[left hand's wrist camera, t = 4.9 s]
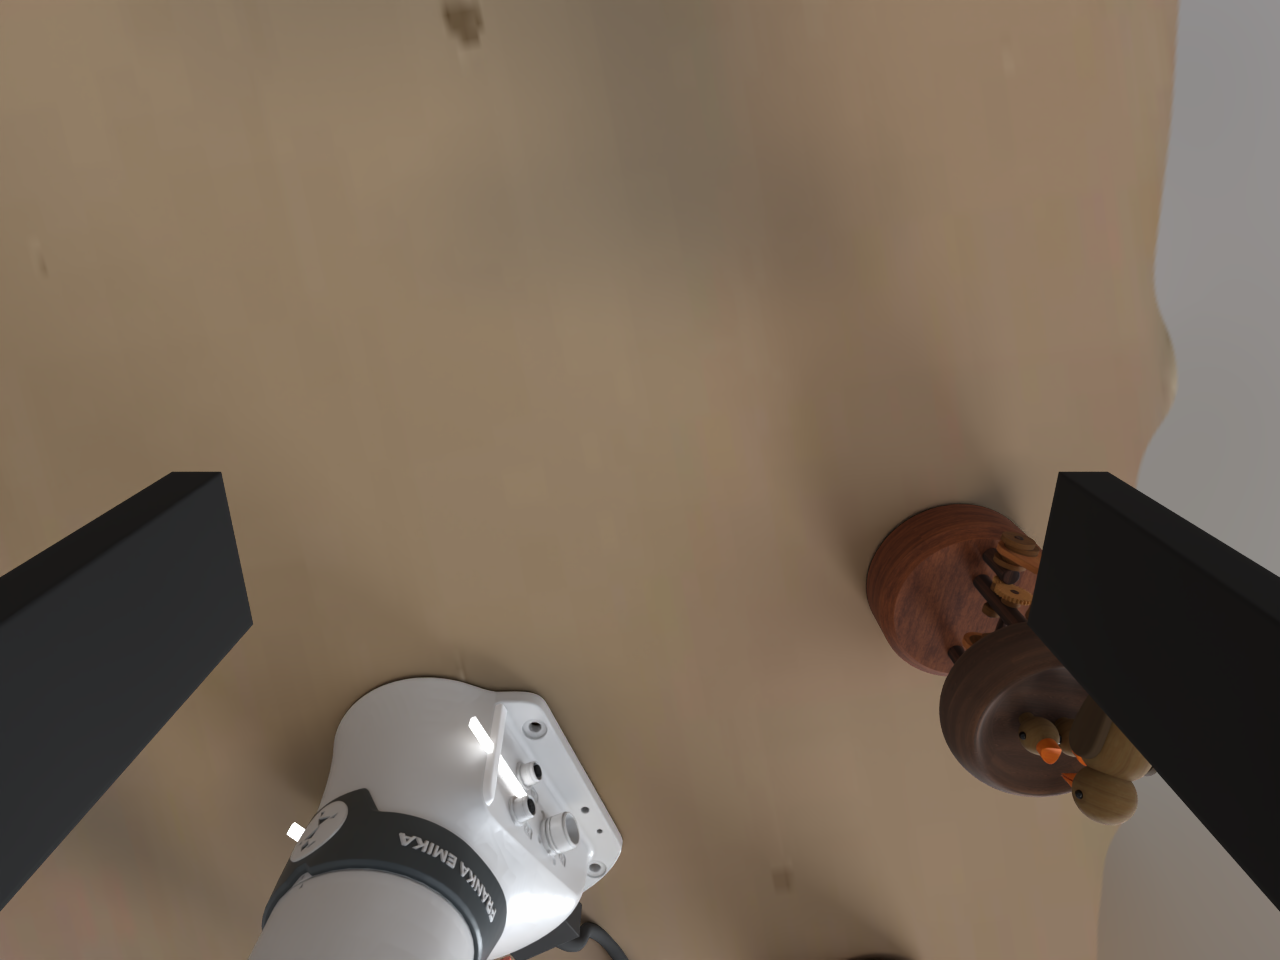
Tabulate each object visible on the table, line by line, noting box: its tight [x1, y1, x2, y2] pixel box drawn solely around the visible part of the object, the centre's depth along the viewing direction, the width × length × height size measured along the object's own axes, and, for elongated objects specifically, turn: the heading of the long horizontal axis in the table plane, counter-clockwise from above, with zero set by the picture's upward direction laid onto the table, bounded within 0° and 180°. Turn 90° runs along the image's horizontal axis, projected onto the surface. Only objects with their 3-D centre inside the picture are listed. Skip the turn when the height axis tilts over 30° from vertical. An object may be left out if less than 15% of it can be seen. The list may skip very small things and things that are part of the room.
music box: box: [867, 504, 1157, 825], centre depth 40 cm, size 15×11×20 cm
